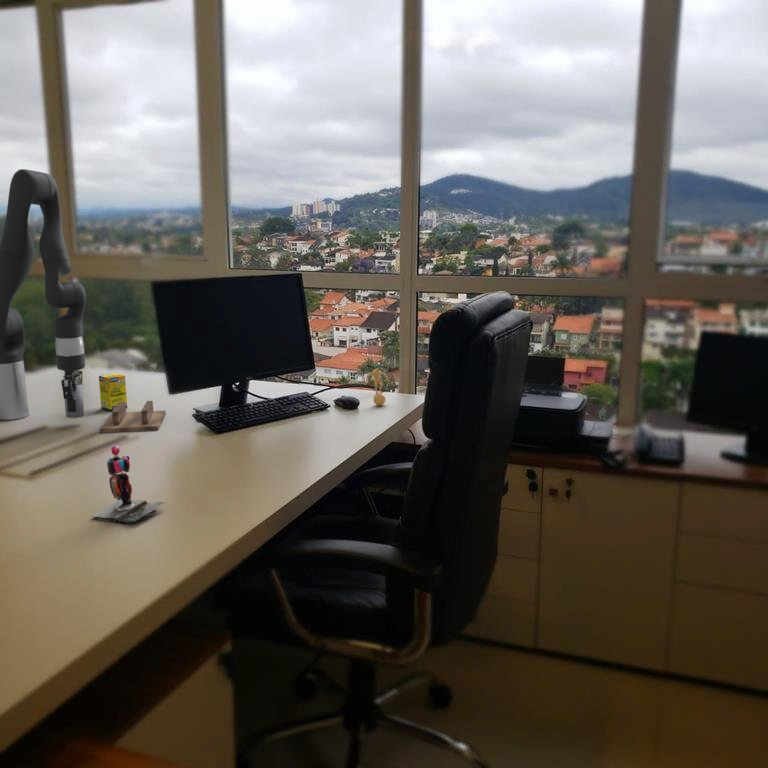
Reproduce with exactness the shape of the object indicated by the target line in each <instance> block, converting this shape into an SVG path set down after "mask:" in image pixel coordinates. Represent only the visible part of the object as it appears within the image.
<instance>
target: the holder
mask: <svg viewBox="0 0 768 768" xmlns="http://www.w3.org/2000/svg"><path fill="white" fill-rule="evenodd" d="M166 412H167V411H166V410H154V401H153V400H147V401H146V402H145V404H144V405H143V407H142V409H141V411H127V408H126V405H125V402H119V404H118V405H117V406H116V408H115V409H114V410H113V411H112V412H111V413H110V414H109V415H108V417H107V418H106V420H104V422H103V423H102V425H101V426H100V427H99V433H100V434H102V433H104V434H105V433H123V432H124V433H125V432H144V431H145V432H147V431H149V432H150V431H159V430H160V428H161V425H162V423H163V421H164V419H165V416H166V415H167V413H166Z"/></svg>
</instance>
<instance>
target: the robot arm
mask: <svg viewBox="0 0 768 768" xmlns="http://www.w3.org/2000/svg"><path fill="white" fill-rule="evenodd" d="M7 199H8V200H7V207H6V215H5V220H4V221H5V222H4V227H3V230H2V231H3V232H2V236H1V238H0V420H1V421H13V420H18V419H24V418H27V417H28V416H30V410H29V409H30V408H29V401H28V400H29V399H28V390H27V389H28V388H27V382H26V374H25V373H26V371H25V363H24V353H25V349H26V348H25V347H26V342H25V341H26V340H25V327H24V326H25V325H24V321H23V317H22V316H21V314H20V312H19V311H18V310H17V309H16V308H14V307H11V305H12V301H13V299H14V297H15V295H16V294H17V293H18V291H19V290H20V289H21V287H22V286H23V284H24V283H25V282H26V281H27V278H28V277H29V275H30V272H31V269H32V265H33V262H34V258H35V254H36V253H35V251H36V249H35V244H34V240H33V236H32V234H31V232H30V228H29V224H28V223H29V220H28V219H29V214H30V209H31V206H32V205H37V206H39V208H40V211H41V214H42V217H43V225H42V230H41V234H40V237H39V243H38V244H39V253H40V256H41V261H42V265H43V269H44V277H45V278H44V281H45V282H44V284H45V285H44V298H45V300H46V302H47V304H48V305H49V306H50V307H52V308H53V309H66V308H68V309H67V311H66V313H64V314H62V315H60V316H57V317H56V318H55V319H54V332H55V342H54V344H55V345H54V346H55V357H56V358H55V359H56V368H57V369H58V370H59V371H63V372H64V375H63V377H62V379H61V382H60V383H61V389H62V396H63V399H64V400H65V399H66V400H67V408H68V412H76V399H75V398H76V392H77V387H78V384H81V385H82V386H83V370H84V369H85V367H86V358H85V343H84V339H83V330H82V321H83V314H84V309H85V306H86V301H87V300H86V299H87V293H86V290H85V288H84V286H83V285H82V284H81V283H80V282H78V281H71V282H69V281H67V282H60V277H63V276H66V275H69V274H70V273H71V272H72V264H71V260H70V255H69V253H68V250H67V249H68V248H67V245H66V241H65V236H64V231H63V230H64V229H63V223H62V211H61V202H60V201H61V200H60V193H59V188H58V184H57V182H56V180H55V177H53V176H52V175H51V174H49V173H46V172H42V171H36V170H31V169H25V168H23V169H22V168H21V169H18V170H17V171H16V172H14V174H13V176H12V178H11V181H10V185H9V190H8V198H7ZM72 387H74V388H72ZM83 389H84V388H83V387H82V391H83ZM68 392H70V394H71V395H68Z"/></svg>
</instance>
